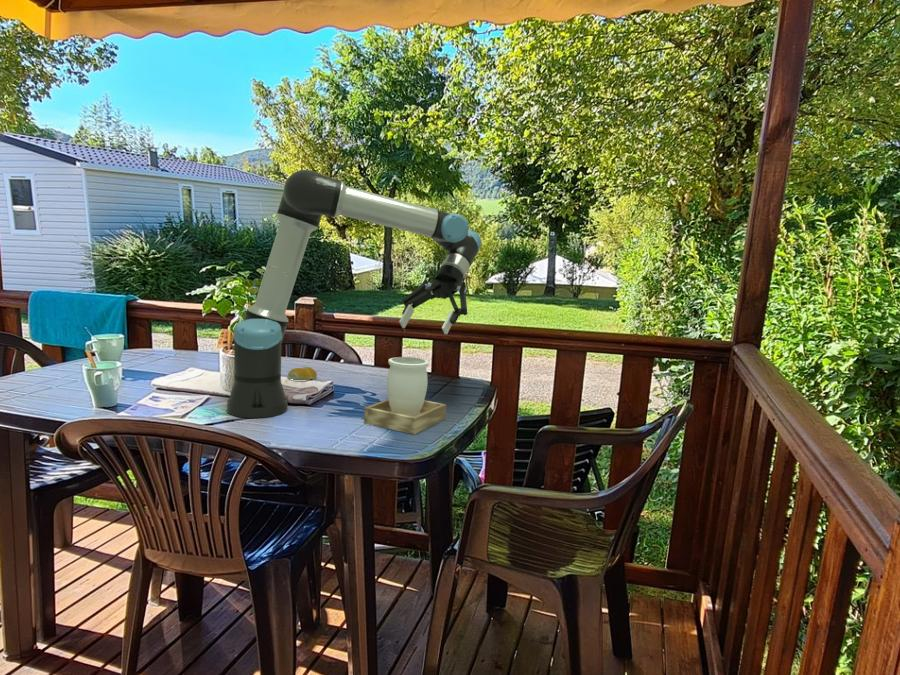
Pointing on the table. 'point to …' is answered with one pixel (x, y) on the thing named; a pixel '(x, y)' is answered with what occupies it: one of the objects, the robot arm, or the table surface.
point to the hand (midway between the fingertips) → (422, 328)
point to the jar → (407, 385)
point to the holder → (404, 417)
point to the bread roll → (302, 374)
